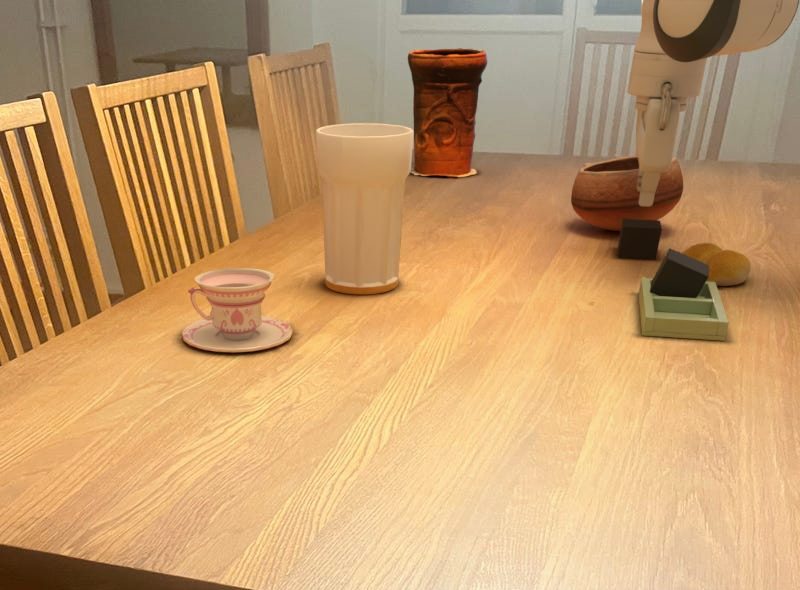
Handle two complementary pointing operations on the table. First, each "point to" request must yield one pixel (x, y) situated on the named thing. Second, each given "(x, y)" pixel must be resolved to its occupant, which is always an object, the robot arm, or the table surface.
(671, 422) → the table surface
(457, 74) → the vessel
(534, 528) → the table surface
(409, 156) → the cup
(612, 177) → the bowl
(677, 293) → the pad
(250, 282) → the teacup
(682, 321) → the frame
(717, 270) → the bread roll
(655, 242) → the black block
